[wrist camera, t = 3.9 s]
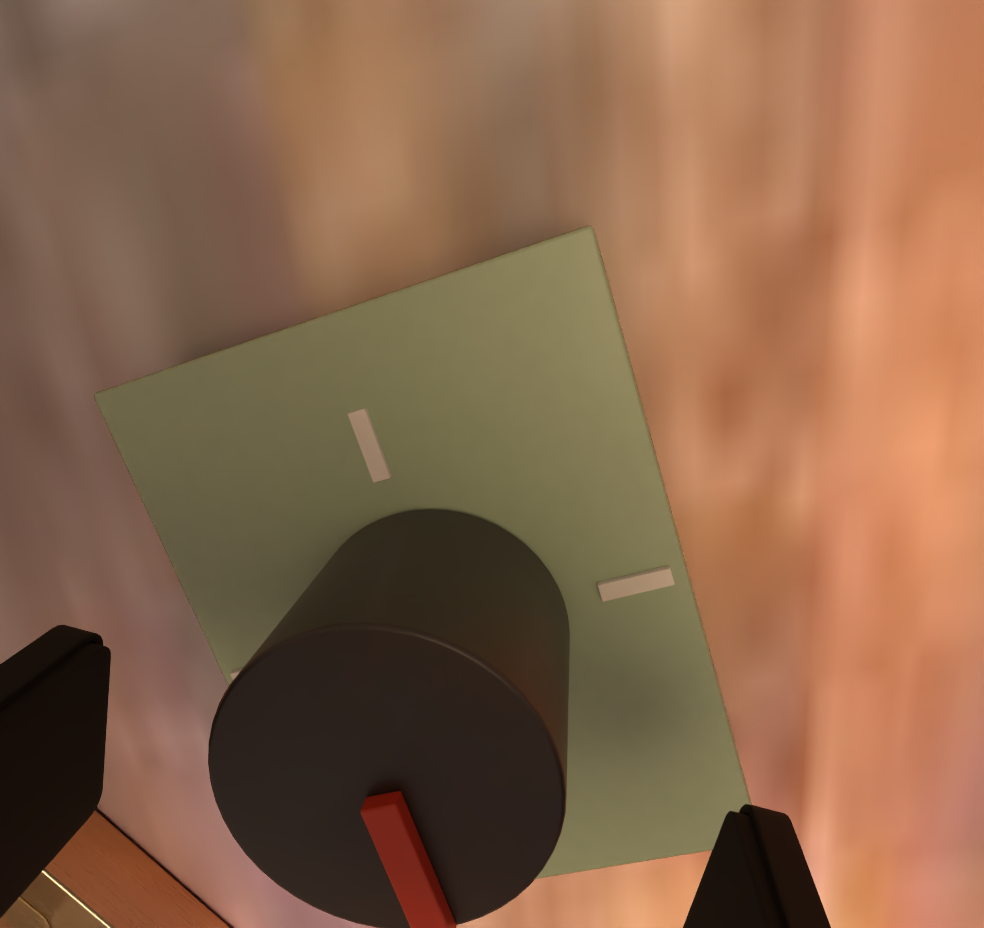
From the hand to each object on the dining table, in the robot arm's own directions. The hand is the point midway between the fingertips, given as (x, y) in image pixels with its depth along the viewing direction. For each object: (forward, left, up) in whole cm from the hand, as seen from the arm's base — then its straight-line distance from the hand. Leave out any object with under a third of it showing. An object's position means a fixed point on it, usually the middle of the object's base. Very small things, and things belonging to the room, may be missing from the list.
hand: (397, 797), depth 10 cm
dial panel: (0, 0, -7) cm, 7 cm away
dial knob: (0, 0, -4) cm, 4 cm away
